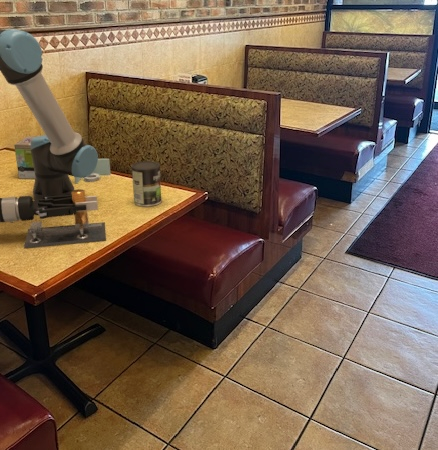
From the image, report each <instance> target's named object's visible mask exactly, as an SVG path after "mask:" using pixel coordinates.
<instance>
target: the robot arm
mask: <svg viewBox="0 0 438 450" xmlns="http://www.w3.org/2000/svg"><path fill="white" fill-rule="evenodd" d="M42 56H43V51H42V47H41V45H40V42H39V41H38V40H37V39H36V37H34V36H33V35H32V34H31V33H29V32H27V31H24V30H19V29H17V28H8V29H7V28H6V29H4V28H0V73H1V74H2V77H3V78H4V79H5V80H6V83H8V84H9V85H12V86H15V87H16V89H17V90H18V93H20V95H21V97H22V99H23V100H24V102H25V103H26V105H27V106H28V109H29V110H30V111H31V114H33V116H34V119H35V120H36V121H37V123H38V125H39V126H40V127H41V130H42V131H43V132H44V134H43V135H38V137H35V138H33V139H32V140H31V141H30V144H31V149H30V150H31V153H32V159H33V165H34V171H35V179H34V184H33V189H32V196H33V197H32V196H31V195H23V196H22V195H21V196H19V197H17V196H8V197H0V223H10V224H11V223H14V222H19V221H22V222H23V221H24V222H26V221H33V220H34V219H35V216H39V219H41V220H42V219H48V218H54V217H55V218H56V217H65V216H66V217H67V216H74V215H76V212H78V211H87V212H88V211H98V210H99V208H98V207H99V206H98V196H97V195H90V196H89V195H88V196H86V195H85V197H86V202H77V203H75V204H76V205H75V204H73V200H72V191H73V190H75V186H74V184H73V182H72V181H71V178H70V176H71V177H74V178H75V177H80V178H81V179H84V178H85V177H88V176H90V175H91V174H92V173H93V172H94V170H95V168H96V166H97V162H98V159H99V155H98V151H97V150H96V148H95V147H94V146H92V145H90V144H86V142H85V140H84V138H83V137H82V135H81V134H80V133H79V132H76V131H74V129H73V127H72V126H71V124H70V122H69V121H68V119H67V117H66V115H65V113H64V111H63V110H62V108H61V106H60V105H59V103H58V100H57V99H56V97H55V95H54V94H53V92H52V90H51V89H50V87H49V85H48V83H47V81H46V79H45V78H44V76H43V74H42V72H43V70H44V65H43V58H42ZM33 199H34V200H33Z"/></svg>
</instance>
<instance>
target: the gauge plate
mask: <svg viewBox="0 0 438 450" xmlns="http://www.w3.org/2000/svg"><path fill="white" fill-rule="evenodd" d="M30 223H31V224H30V227H29V228H28V230H27V233H26V236H25V241H24V244H23V246H24V249H32V248H42V247H53V246H63V245H73V244H83V243H94V242H95V243H96V242H106V241H107V236H106V235H107V234H106V233H107V232H106V223H105V222H95V223H94V222H92V223H89V228H83V235H84V236H81V233H80V228H79V229H76V228H75V224H71V225H60V226H59V225H57V226H46V227H43V224H42V221H33V222H30Z"/></svg>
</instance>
